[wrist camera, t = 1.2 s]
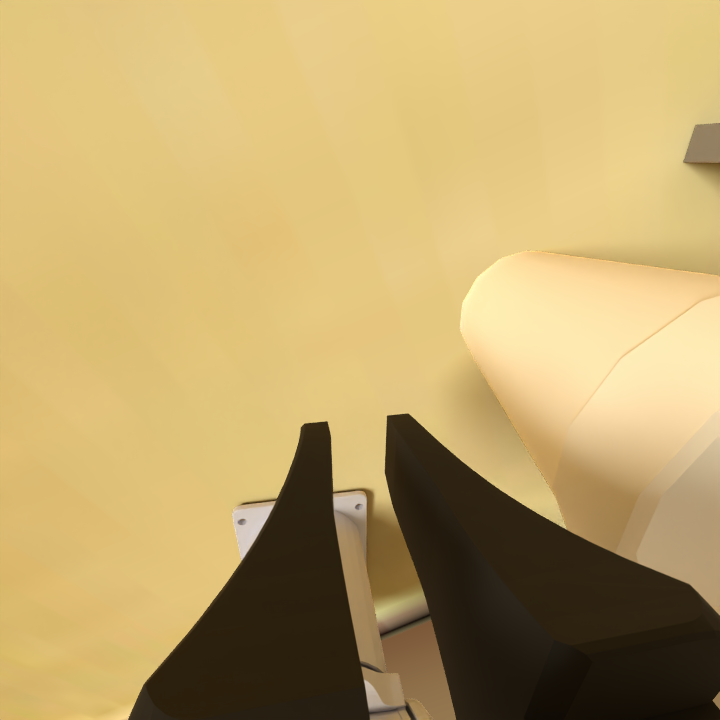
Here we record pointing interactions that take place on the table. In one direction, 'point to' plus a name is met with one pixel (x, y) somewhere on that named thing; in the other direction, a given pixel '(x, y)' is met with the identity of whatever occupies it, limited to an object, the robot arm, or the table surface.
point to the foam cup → (612, 399)
